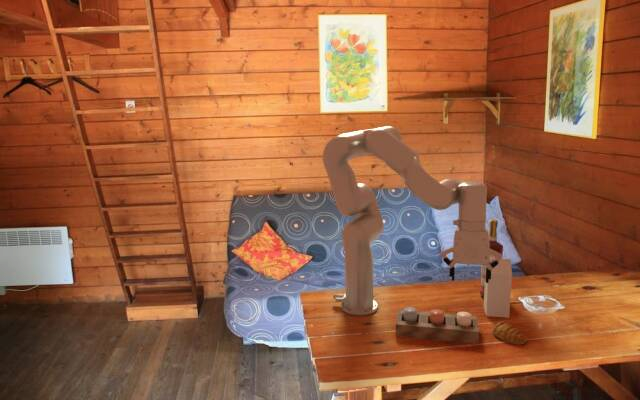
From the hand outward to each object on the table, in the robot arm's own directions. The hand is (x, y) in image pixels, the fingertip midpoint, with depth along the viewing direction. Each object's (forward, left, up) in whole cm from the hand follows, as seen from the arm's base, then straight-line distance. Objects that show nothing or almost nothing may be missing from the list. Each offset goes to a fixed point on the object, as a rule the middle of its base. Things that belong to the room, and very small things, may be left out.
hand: (469, 280), depth 142 cm
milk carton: (+10, +16, -18) cm, 26 cm away
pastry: (+12, 0, -18) cm, 22 cm away
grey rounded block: (-17, -1, -15) cm, 23 cm away
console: (-9, -1, -17) cm, 20 cm away
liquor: (+9, +29, -18) cm, 35 cm away
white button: (-1, -1, -15) cm, 15 cm away
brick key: (-9, -1, -15) cm, 18 cm away
